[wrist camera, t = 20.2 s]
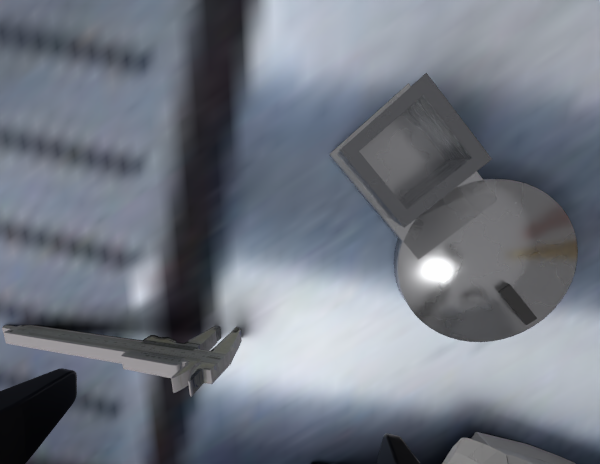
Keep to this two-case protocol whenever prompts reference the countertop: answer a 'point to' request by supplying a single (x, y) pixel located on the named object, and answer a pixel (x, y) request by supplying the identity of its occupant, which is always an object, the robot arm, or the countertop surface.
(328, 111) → the countertop surface
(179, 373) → the caliper
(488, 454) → the iron
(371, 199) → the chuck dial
